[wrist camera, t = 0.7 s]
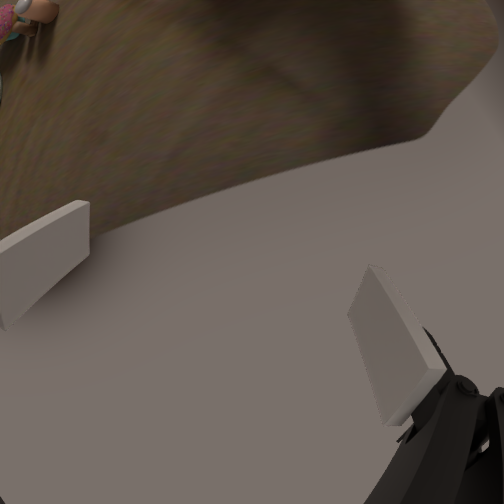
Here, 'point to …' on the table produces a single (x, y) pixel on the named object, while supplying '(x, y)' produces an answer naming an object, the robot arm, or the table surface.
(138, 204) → the table surface
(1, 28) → the cupcake
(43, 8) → the shaker
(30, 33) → the rack
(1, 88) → the plate
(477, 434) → the robot arm
